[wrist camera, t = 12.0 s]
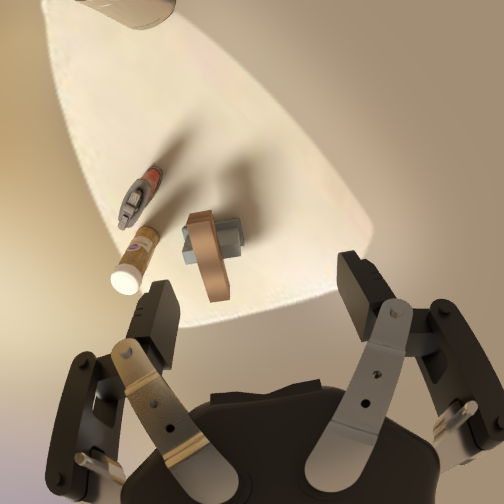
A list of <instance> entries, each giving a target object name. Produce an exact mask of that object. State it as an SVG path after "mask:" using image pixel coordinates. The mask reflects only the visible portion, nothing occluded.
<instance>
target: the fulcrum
mask: <svg viewBox="0 0 504 504" xmlns="http://www.w3.org/2000/svg"><path fill="white" fill-rule="evenodd" d="M214 224H215V228H216V232H217V236H218V240H219V245H220V249H221V253H222V257H223V259H225V258H231V257H238V256H241V246H244V240H243V235H242V230H241V224H240V219H239V218H237V219H231V220H225V221H219V222H214ZM182 232H183V236H184V239H185V243H184V247H183V250H182V254H183V257H184V260H185V263H186V265H187V264H194V263H197V260H196V257H195V254H194V250H193V247H192V244H191V240H190V237H189V233H188V230H187V227H186V228H182Z"/></svg>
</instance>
